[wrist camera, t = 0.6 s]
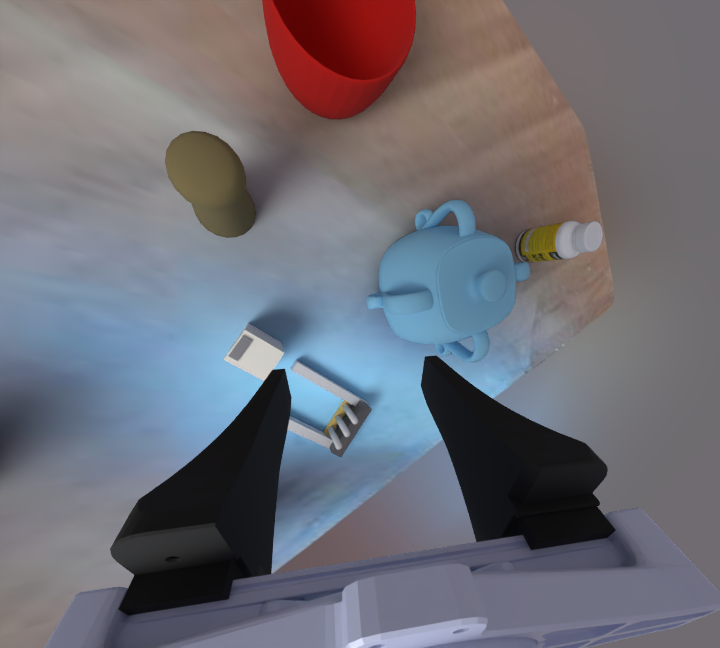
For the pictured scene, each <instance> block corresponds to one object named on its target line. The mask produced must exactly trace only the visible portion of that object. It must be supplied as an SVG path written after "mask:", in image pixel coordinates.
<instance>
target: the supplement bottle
mask: <svg viewBox="0 0 720 648" xmlns="http://www.w3.org/2000/svg"><path fill="white" fill-rule="evenodd" d="M602 237H603V232H602V228H601V225H600V224H599V223H598V222H595V221H593V222H588V223H583V224H580V223H579V222H576V221H568V222H563V223H558V224H553V225H548V226H544V227H539V228H534V229H529V230H526V231H524V232H522V233H521V234H520V235H519V237H518V239H517V242H516V253H517V256H518V258H519V259H520V260H521V261H523V262H539V261H550V260H561V259H570V258H573V257H575V256H577V255H578V254H579V253H585V252H592V251H595V250H597V249H598V248H599V246H600V244H601V242H602Z"/></svg>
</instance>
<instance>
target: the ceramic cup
mask: <svg viewBox="0 0 720 648" xmlns="http://www.w3.org/2000/svg"><path fill="white" fill-rule="evenodd" d="M262 2H263V11H264V18H265V24H266V29H267V34H268V39H269V44H270V48H271V51H272V54H273V57H274V60H275V63H276V65H277V68H278V71H279V73H280V75H281V77H282V78H283V80H284V82H285V84H286V86H287V87H288V89H289V90H290V92H291V93H292V94H293V95H294V97H295V98H296V99H297V100H298V101H299V102H300V103H301V104H302V105H303V106H304V107H305V108H307V109H308V110H310V111H311V112H312V113H314V114H317V115H319V116H321V117H324V118H328V119H344V118H349V117H352V116H354V115H356V114H358V113H360V112H362V111H364V110H365V109H366V108H368V107H369V106H370V105H371V104H372V103H373V102H374V101H375V100H377V99H378V98H379V96H380V95H381V94H382V93H383V92H384V91H385V89H386V88H387V87H388V85H389V84H390V83H391V81H392V80H393V78H394V77H395V75H396V74H397V73H398V71H399V70H400V68H401V67H402V65H403V64H404V62H405V60H406V58H407V56H408V53H409V51H410V48H411V46H412V42H413V37H414V32H415V22H416V8H415V0H262Z"/></svg>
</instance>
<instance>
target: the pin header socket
mask: <svg viewBox="0 0 720 648" xmlns="http://www.w3.org/2000/svg"><path fill="white" fill-rule="evenodd" d="M291 370H292V371H294V372H295V373H297V374H299V375H301V376H303V377H304V378H306V379H308V380H310V381H311V382H313V383H315V384H317V385H318V386H320V387H322V388H324V389H325V390H327V391H329V392H331V393H333V394H334V395H336V396H338V397H340V398H341V399H343V400H344V401H343V402H342V404H341V406H340V407H339V409H338V410H337V412H336V413H335V415H334V416H333V418H332V419H331V421H330V422H329V424H328V425H327V427H326V428H325V430H324V431H323V432H322V431H320V430H318V429H316V428H314V427H312V426H310V425H308V424H306V423H304V422H302V421H300V420H298V419H296V418H294V417H292V416H290V419H289V424H288V430H290V431H292V432H294V433H296V434H298V435H301V436H303V437H305V438H307V439H309V440H311V441H313V442H316V443H318V444H320V445H322V446H324V447H326V448H328V449H330V450H331V453H333V454H335V455H337V456H339V457H342V455H343V454H344V452H345V451H346V449H347V447H348V446H349V444H350V443H351V441H352V440H353V438H354V437H355V435H356V433H357V432H358V430H359V429H360V427H361V426H362V424H363V422H364V421H365V419H366V418H367V416H368V415H369V413H370V412H371V410H372V409H371V408H370V407H369V405H370V404H369V403H368V402H367V401H366V400H364V399H362V398H360V397H359V396H357V395H355V394H354V393H352V392H350V391H349V390H347V389H345V388H343V387H342V386H340V385H338V384H337V383H335V382H333V381H332V380H330V379H328V378H327V377H325V376H323V375H321V374H320V373H318V372H316V371H315V370H313V369H311V368H310V367H308V366H306V365H304V364H303V363H301V362H299V361H298V360H296V361H295V362H294V364H293V365H292V366H291ZM351 404H352V405H351ZM350 405H351V406H350ZM349 406H350V407H349ZM345 412H346V414H345ZM344 414H345V416H344ZM343 416H344V417H343ZM342 417H343V419H342ZM337 425H338V426H337ZM336 426H337V428H336ZM335 428H336V429H335ZM334 429H335V430H334Z"/></svg>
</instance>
